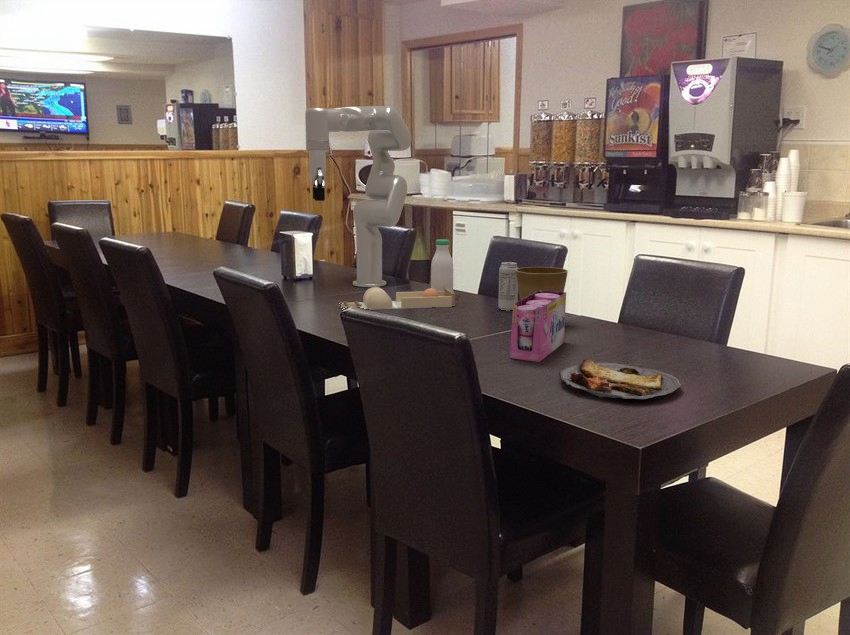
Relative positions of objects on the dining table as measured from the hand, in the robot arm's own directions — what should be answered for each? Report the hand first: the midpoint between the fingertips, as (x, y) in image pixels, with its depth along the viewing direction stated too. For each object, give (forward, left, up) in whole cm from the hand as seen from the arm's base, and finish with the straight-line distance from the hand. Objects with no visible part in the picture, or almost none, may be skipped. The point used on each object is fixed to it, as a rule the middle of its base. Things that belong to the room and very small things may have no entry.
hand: (318, 199), depth 255 cm
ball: (+17, +35, -30) cm, 49 cm away
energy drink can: (+30, +57, -34) cm, 73 cm away
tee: (+17, +8, -33) cm, 38 cm away
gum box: (+80, +49, -34) cm, 100 cm away
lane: (+17, +23, -36) cm, 46 cm away
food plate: (+113, +55, -34) cm, 130 cm away
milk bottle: (+6, +41, -34) cm, 53 cm away
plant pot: (+51, +60, -34) cm, 86 cm away
